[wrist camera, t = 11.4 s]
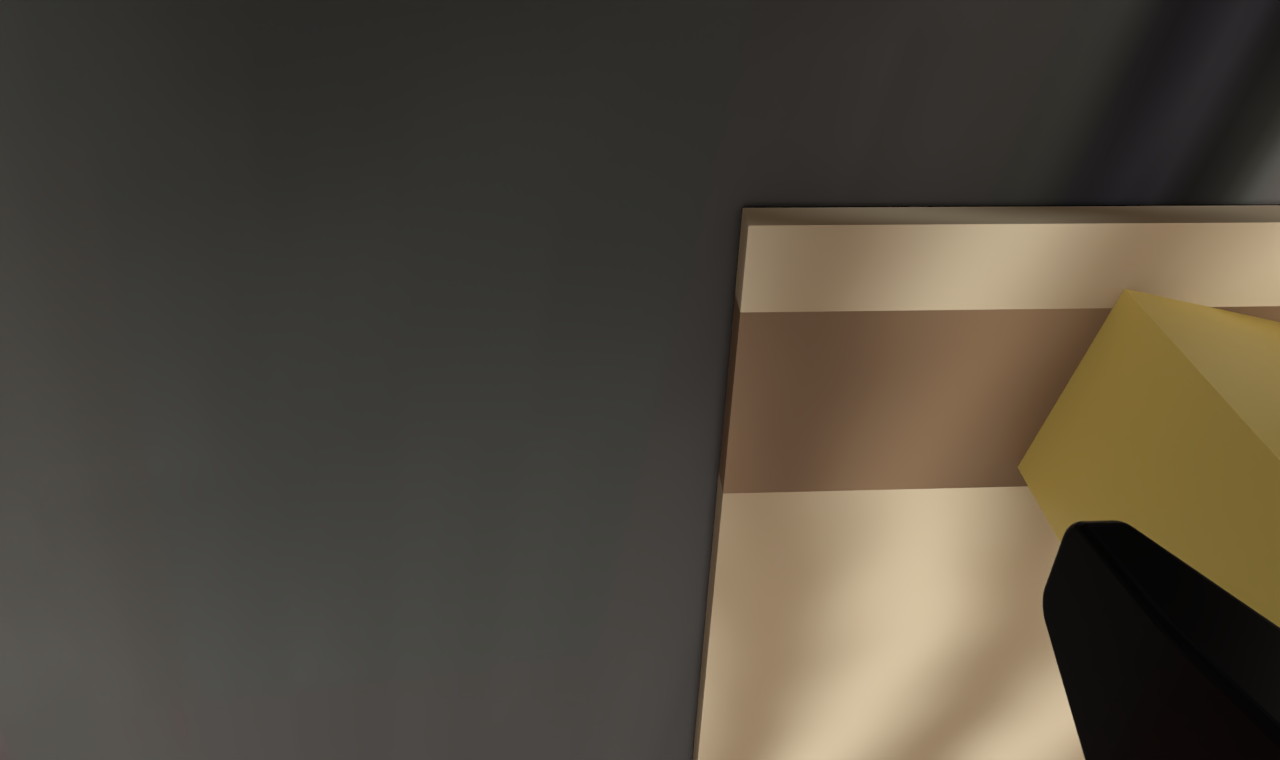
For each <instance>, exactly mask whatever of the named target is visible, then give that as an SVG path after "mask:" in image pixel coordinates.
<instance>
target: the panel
mask: <svg viewBox="0 0 1280 760" xmlns="http://www.w3.org/2000/svg"><path fill="white" fill-rule="evenodd" d="M1124 289H1129V290H1133V291H1138V292H1143V293H1147V294H1152V295H1157V296H1161V297H1166V298H1170V299H1175V300H1180V301H1184V302H1189V303H1194V304H1198V305H1203V306H1208V307H1212V308H1217V309H1222V310H1226V311H1231V312H1235V313H1240V314H1245V315H1249V316H1254V317H1259V318H1263V319H1268V320H1273V321H1277V322H1280V205H1245V206H1037V207H829V208H743V210H742V221H741V232H740V243H739V254H738V265H737V277H736V288H735V299H734V310H733V321H732V332H731V343H730V354H729V365H728V376H727V387H726V398H725V409H724V420H723V431H722V442H721V453H720V464H719V475H718V486H717V497H716V508H715V519H714V530H713V541H712V552H711V563H710V574H709V585H708V596H707V607H706V619H705V630H704V641H703V652H702V663H701V674H700V685H699V696H698V707H697V718H696V729H695V740H694V751H693V760H1085V758H1084V755H1083V751H1082V748H1081V744H1080V741H1079V738H1078V734H1077V731H1076V727H1075V724H1074V720H1073V717H1072V713H1071V710H1070V706H1069V703H1068V700H1067V696H1066V693H1065V689H1064V686H1063V682H1062V679H1061V675H1060V672H1059V669H1058V665H1057V662H1056V658H1055V655H1054V651H1053V648H1052V644H1051V641H1050V637H1049V634H1048V631H1047V627H1046V624H1045V620H1044V615H1043V602H1042V600H1043V592H1044V588H1045V585H1046V582H1047V580H1048V577H1049V574H1050V571H1051V568H1052V566H1053V563H1054V560H1055V557H1056V555H1057V552H1058V549H1059V546H1060V544H1061V543H1060V541H1059V540H1058V538H1057V536H1056V534H1055V532H1054V531H1053V529H1052V527H1051V525H1050V524H1049V522H1048V520H1047V518H1046V517H1045V515H1044V513H1043V511H1042V510H1041V508H1040V506H1039V504H1038V503H1037V501H1036V499H1035V497H1034V496H1033V494H1032V492H1031V490H1030V488H1029V487H1028V485H1027V483H1026V481H1025V480H1024V478H1023V476H1022V474H1021V473H1020V471H1019V469H1018V466H1019V464H1020V462H1021V461H1022V459H1023V457H1024V456H1025V454H1026V452H1027V451H1028V449H1029V447H1030V446H1031V444H1032V442H1033V441H1034V439H1035V437H1036V436H1037V434H1038V432H1039V431H1040V429H1041V427H1042V426H1043V424H1044V422H1045V421H1046V419H1047V417H1048V416H1049V414H1050V412H1051V411H1052V409H1053V407H1054V406H1055V404H1056V402H1057V401H1058V399H1059V397H1060V396H1061V394H1062V392H1063V391H1064V389H1065V387H1066V385H1067V384H1068V382H1069V380H1070V379H1071V377H1072V375H1073V374H1074V372H1075V370H1076V369H1077V367H1078V365H1079V364H1080V362H1081V360H1082V359H1083V357H1084V355H1085V354H1086V352H1087V350H1088V349H1089V347H1090V345H1091V344H1092V342H1093V340H1094V339H1095V337H1096V335H1097V334H1098V332H1099V330H1100V329H1101V327H1102V325H1103V324H1104V322H1105V320H1106V319H1107V317H1108V315H1109V314H1110V312H1111V310H1112V309H1113V307H1114V305H1115V304H1116V302H1117V300H1118V299H1119V297H1120V295H1121V294H1122V292H1123V290H1124Z"/></svg>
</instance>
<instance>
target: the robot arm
mask: <svg viewBox="0 0 1280 760" xmlns="http://www.w3.org/2000/svg"><path fill="white" fill-rule="evenodd" d="M1042 602H1043V615H1044V620H1045V624H1046V627H1047V631H1048V634H1049V637H1050V641H1051V644H1052V648H1053V651H1054V655H1055V658H1056V662H1057V665H1058V669H1059V672H1060V675H1061V679H1062V682H1063V686H1064V689H1065V693H1066V696H1067V700H1068V703H1069V706H1070V710H1071V713H1072V717H1073V720H1074V724H1075V727H1076V731H1077V734H1078V738H1079V741H1080V744H1081V748H1082V751H1083V755H1084V758H1085V760H1280V627H1278V626H1277V625H1275V624H1274V623H1272V622H1271V621H1269V620H1268V619H1267V618H1265V617H1264V616H1262V615H1261V614H1259V613H1258V612H1256V611H1255V610H1253V609H1252V608H1251V607H1249V606H1248V605H1246V604H1245V603H1243V602H1242V601H1240V600H1239V599H1237V598H1236V597H1234V596H1233V595H1232V594H1230V593H1229V592H1227V591H1226V590H1224V589H1223V588H1221V587H1220V586H1218V585H1217V584H1216V583H1214V582H1213V581H1211V580H1210V579H1208V578H1207V577H1205V576H1204V575H1202V574H1201V573H1200V572H1198V571H1197V570H1195V569H1194V568H1192V567H1191V566H1189V565H1188V564H1186V563H1185V562H1183V561H1182V560H1181V559H1179V558H1178V557H1176V556H1175V555H1173V554H1172V553H1170V552H1169V551H1167V550H1166V549H1165V548H1163V547H1162V546H1160V545H1159V544H1157V543H1156V542H1154V541H1153V540H1151V539H1150V538H1148V537H1147V536H1146V535H1144V534H1143V533H1141V532H1140V531H1138V530H1137V529H1135V528H1134V527H1132V526H1131V525H1129V524H1127V523H1125V522H1122V521H1116V520H1103V521H1078V522H1075V523H1073V524H1072V525H1070V526H1069V527H1068V528H1067V529H1066V531H1065V533H1064V536H1063V538H1062V541H1061V544H1060V546H1059V549H1058V552H1057V555H1056V557H1055V560H1054V563H1053V566H1052V568H1051V571H1050V574H1049V577H1048V580H1047V582H1046V585H1045V588H1044V592H1043V600H1042Z"/></svg>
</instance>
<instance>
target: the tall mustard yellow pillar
mask: <svg viewBox="0 0 1280 760" xmlns="http://www.w3.org/2000/svg"><path fill="white" fill-rule="evenodd" d="M1018 469H1019V471H1020V473H1021V474H1022V476H1023V478H1024V480H1025V481H1026V483H1027V485H1028V487H1029V488H1030V490H1031V492H1032V494H1033V496H1034V497H1035V499H1036V501H1037V503H1038V504H1039V506H1040V508H1041V510H1042V511H1043V513H1044V515H1045V517H1046V518H1047V520H1048V522H1049V524H1050V525H1051V527H1052V529H1053V531H1054V532H1055V534H1056V536H1057V538H1058V540H1059V541H1060V543H1061V541H1062V538H1063V536H1064V533H1065V531H1066V529H1067V528H1068V527H1069V526H1070V525H1072V524H1073V523H1075V522H1078V521H1103V520H1116V521H1122V522H1125V523H1127V524H1129V525H1131V526H1132V527H1134V528H1135V529H1137V530H1138V531H1140V532H1141V533H1143V534H1144V535H1146V536H1147V537H1148V538H1150V539H1151V540H1153V541H1154V542H1156V543H1157V544H1159V545H1160V546H1162V547H1163V548H1165V549H1166V550H1167V551H1169V552H1170V553H1172V554H1173V555H1175V556H1176V557H1178V558H1179V559H1181V560H1182V561H1183V562H1185V563H1186V564H1188V565H1189V566H1191V567H1192V568H1194V569H1195V570H1197V571H1198V572H1200V573H1201V574H1202V575H1204V576H1205V577H1207V578H1208V579H1210V580H1211V581H1213V582H1214V583H1216V584H1217V585H1218V586H1220V587H1221V588H1223V589H1224V590H1226V591H1227V592H1229V593H1230V594H1232V595H1233V596H1234V597H1236V598H1237V599H1239V600H1240V601H1242V602H1243V603H1245V604H1246V605H1248V606H1249V607H1251V608H1252V609H1253V610H1255V611H1256V612H1258V613H1259V614H1261V615H1262V616H1264V617H1265V618H1267V619H1268V620H1269V621H1271V622H1272V623H1274V624H1275V625H1277V626H1278V627H1280V322H1277V321H1273V320H1268V319H1263V318H1259V317H1254V316H1249V315H1245V314H1240V313H1235V312H1231V311H1226V310H1222V309H1217V308H1212V307H1208V306H1203V305H1198V304H1194V303H1189V302H1184V301H1180V300H1175V299H1170V298H1166V297H1161V296H1157V295H1152V294H1147V293H1143V292H1138V291H1133V290H1129V289H1124V290H1123V292H1122V294H1121V295H1120V297H1119V299H1118V300H1117V302H1116V304H1115V305H1114V307H1113V309H1112V310H1111V312H1110V314H1109V315H1108V317H1107V319H1106V320H1105V322H1104V324H1103V325H1102V327H1101V329H1100V330H1099V332H1098V334H1097V335H1096V337H1095V339H1094V340H1093V342H1092V344H1091V345H1090V347H1089V349H1088V350H1087V352H1086V354H1085V355H1084V357H1083V359H1082V360H1081V362H1080V364H1079V365H1078V367H1077V369H1076V370H1075V372H1074V374H1073V375H1072V377H1071V379H1070V380H1069V382H1068V384H1067V385H1066V387H1065V389H1064V391H1063V392H1062V394H1061V396H1060V397H1059V399H1058V401H1057V402H1056V404H1055V406H1054V407H1053V409H1052V411H1051V412H1050V414H1049V416H1048V417H1047V419H1046V421H1045V422H1044V424H1043V426H1042V427H1041V429H1040V431H1039V432H1038V434H1037V436H1036V437H1035V439H1034V441H1033V442H1032V444H1031V446H1030V447H1029V449H1028V451H1027V452H1026V454H1025V456H1024V457H1023V459H1022V461H1021V462H1020V464H1019V466H1018Z"/></svg>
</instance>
